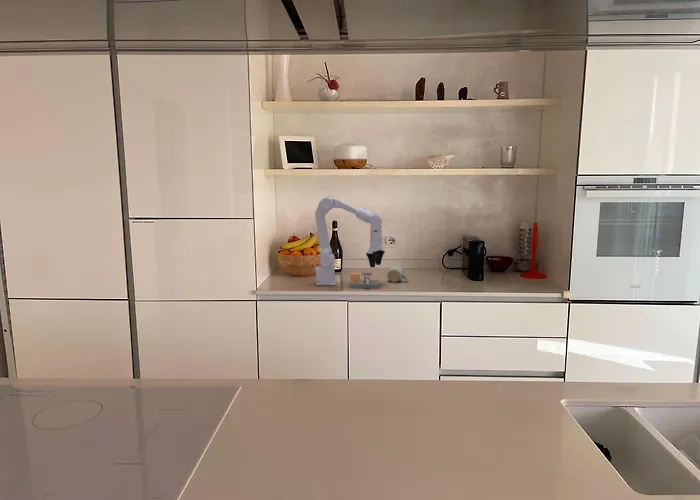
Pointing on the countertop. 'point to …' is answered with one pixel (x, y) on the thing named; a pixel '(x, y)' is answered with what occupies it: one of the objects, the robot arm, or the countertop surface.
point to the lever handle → (367, 277)
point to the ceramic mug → (396, 274)
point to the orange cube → (355, 277)
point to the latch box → (364, 284)
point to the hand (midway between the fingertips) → (375, 266)
